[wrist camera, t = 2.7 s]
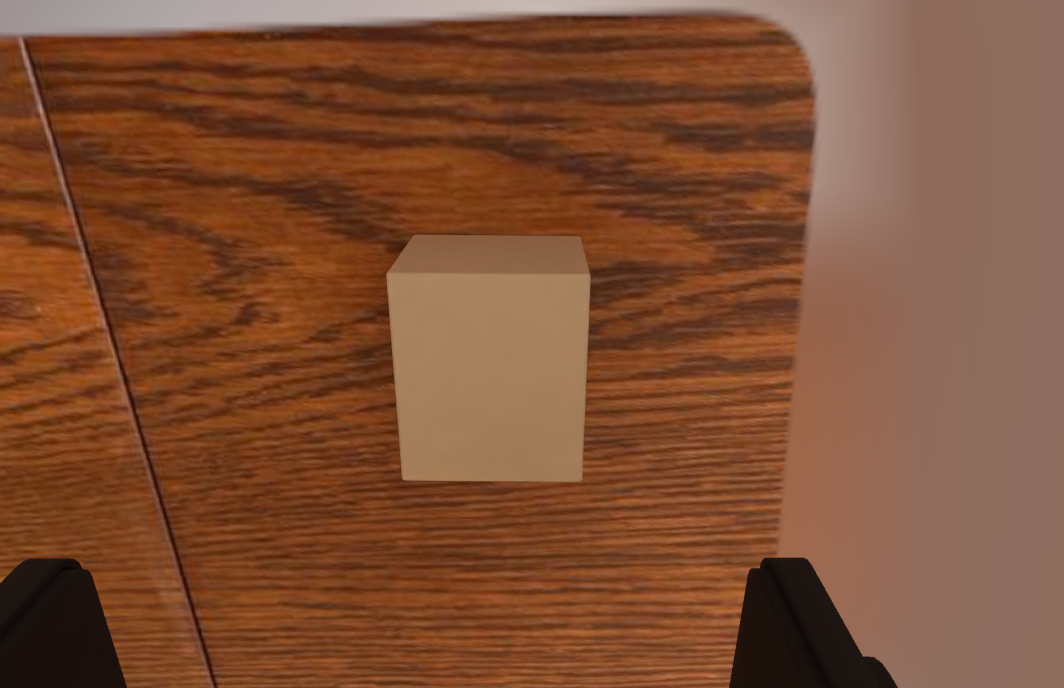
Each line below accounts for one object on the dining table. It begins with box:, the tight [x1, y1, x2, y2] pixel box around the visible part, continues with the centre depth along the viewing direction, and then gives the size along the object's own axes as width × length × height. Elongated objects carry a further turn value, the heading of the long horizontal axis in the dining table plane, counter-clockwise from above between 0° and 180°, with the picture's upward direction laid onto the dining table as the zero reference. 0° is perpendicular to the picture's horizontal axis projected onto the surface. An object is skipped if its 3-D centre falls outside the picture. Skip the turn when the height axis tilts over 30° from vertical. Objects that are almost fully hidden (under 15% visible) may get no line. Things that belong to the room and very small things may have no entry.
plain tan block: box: [386, 235, 591, 482], centre depth 20 cm, size 5×6×4 cm
